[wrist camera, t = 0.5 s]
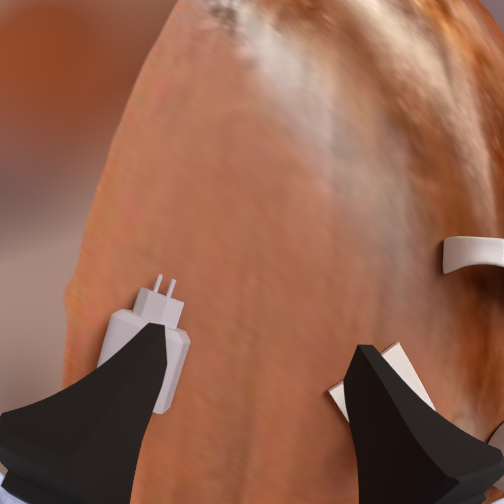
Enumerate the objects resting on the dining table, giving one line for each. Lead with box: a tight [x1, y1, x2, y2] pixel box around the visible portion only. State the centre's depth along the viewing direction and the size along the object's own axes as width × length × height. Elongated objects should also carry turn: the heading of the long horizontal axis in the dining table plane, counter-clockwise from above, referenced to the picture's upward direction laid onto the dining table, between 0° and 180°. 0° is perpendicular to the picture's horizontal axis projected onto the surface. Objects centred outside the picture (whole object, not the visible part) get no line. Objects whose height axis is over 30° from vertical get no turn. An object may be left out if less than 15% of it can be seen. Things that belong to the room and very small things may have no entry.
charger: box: [96, 274, 191, 414], centre depth 35 cm, size 5×9×15 cm
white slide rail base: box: [328, 342, 436, 422], centre depth 30 cm, size 29×10×6 cm, turn 32°
